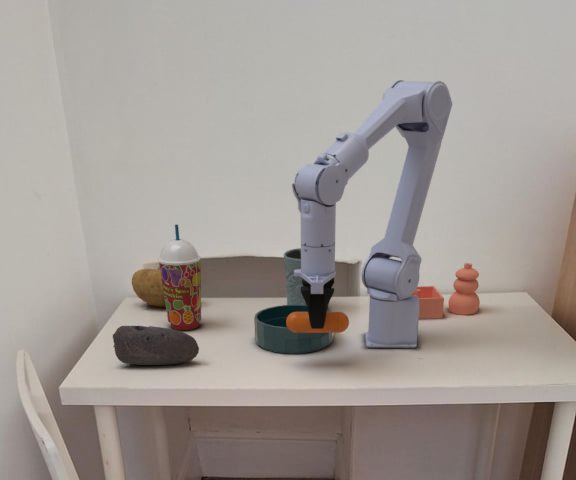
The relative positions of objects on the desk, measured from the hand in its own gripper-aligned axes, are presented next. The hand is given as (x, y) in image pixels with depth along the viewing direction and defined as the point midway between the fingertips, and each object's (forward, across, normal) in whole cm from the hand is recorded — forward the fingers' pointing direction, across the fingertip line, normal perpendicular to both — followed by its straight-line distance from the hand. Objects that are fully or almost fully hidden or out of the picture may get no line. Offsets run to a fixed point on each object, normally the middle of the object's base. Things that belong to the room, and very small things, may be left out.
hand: (317, 324), depth 131 cm
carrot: (+1, 0, 0) cm, 1 cm away
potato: (+8, -37, -35) cm, 51 cm away
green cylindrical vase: (+8, -34, -3) cm, 35 cm away
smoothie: (+8, -22, -28) cm, 36 cm away
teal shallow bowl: (+7, -13, -5) cm, 16 cm away
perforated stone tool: (+8, 0, -29) cm, 30 cm away
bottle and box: (+8, -33, +25) cm, 42 cm away
